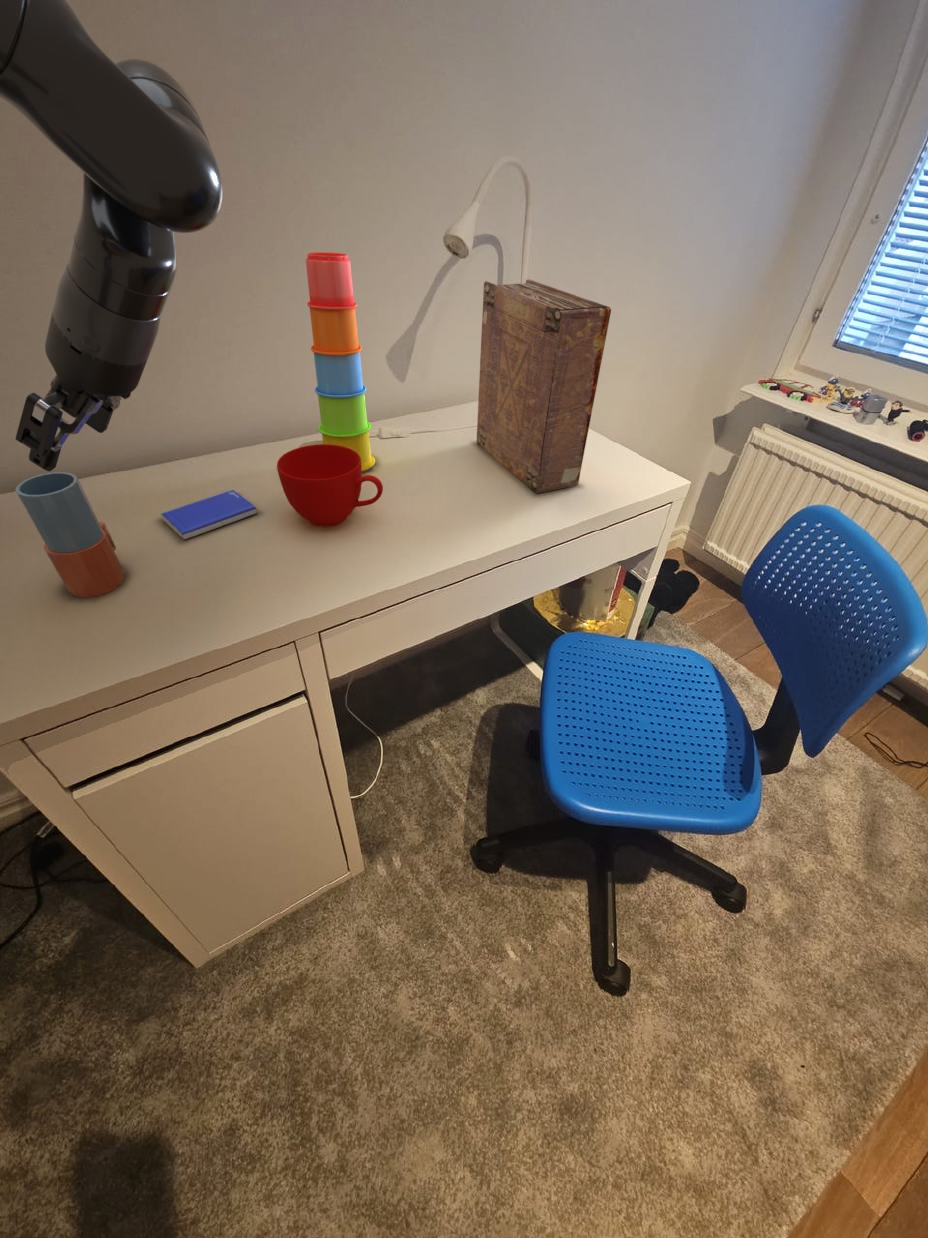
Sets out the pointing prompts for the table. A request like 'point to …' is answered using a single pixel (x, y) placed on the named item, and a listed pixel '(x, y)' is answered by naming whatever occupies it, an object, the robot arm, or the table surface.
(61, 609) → the table surface
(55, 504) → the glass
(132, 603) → the table surface
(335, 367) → the stacking cups
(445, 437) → the table surface
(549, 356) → the book
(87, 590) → the mug
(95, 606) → the table surface
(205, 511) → the hard drive
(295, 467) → the ceramic cup
